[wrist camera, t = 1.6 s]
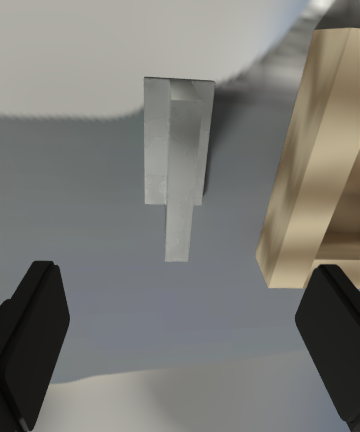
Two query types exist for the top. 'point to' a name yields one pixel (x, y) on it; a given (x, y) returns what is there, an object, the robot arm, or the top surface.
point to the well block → (318, 170)
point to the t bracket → (176, 153)
